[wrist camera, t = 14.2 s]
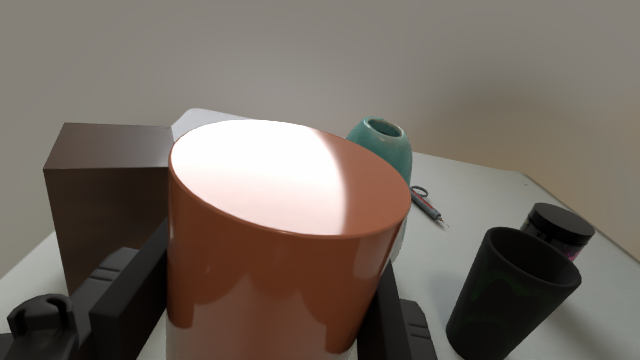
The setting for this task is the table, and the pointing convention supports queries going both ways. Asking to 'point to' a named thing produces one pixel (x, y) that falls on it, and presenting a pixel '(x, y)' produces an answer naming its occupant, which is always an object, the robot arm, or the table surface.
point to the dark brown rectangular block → (105, 191)
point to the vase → (386, 152)
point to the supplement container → (558, 228)
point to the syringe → (424, 203)
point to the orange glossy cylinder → (275, 241)
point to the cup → (508, 293)
